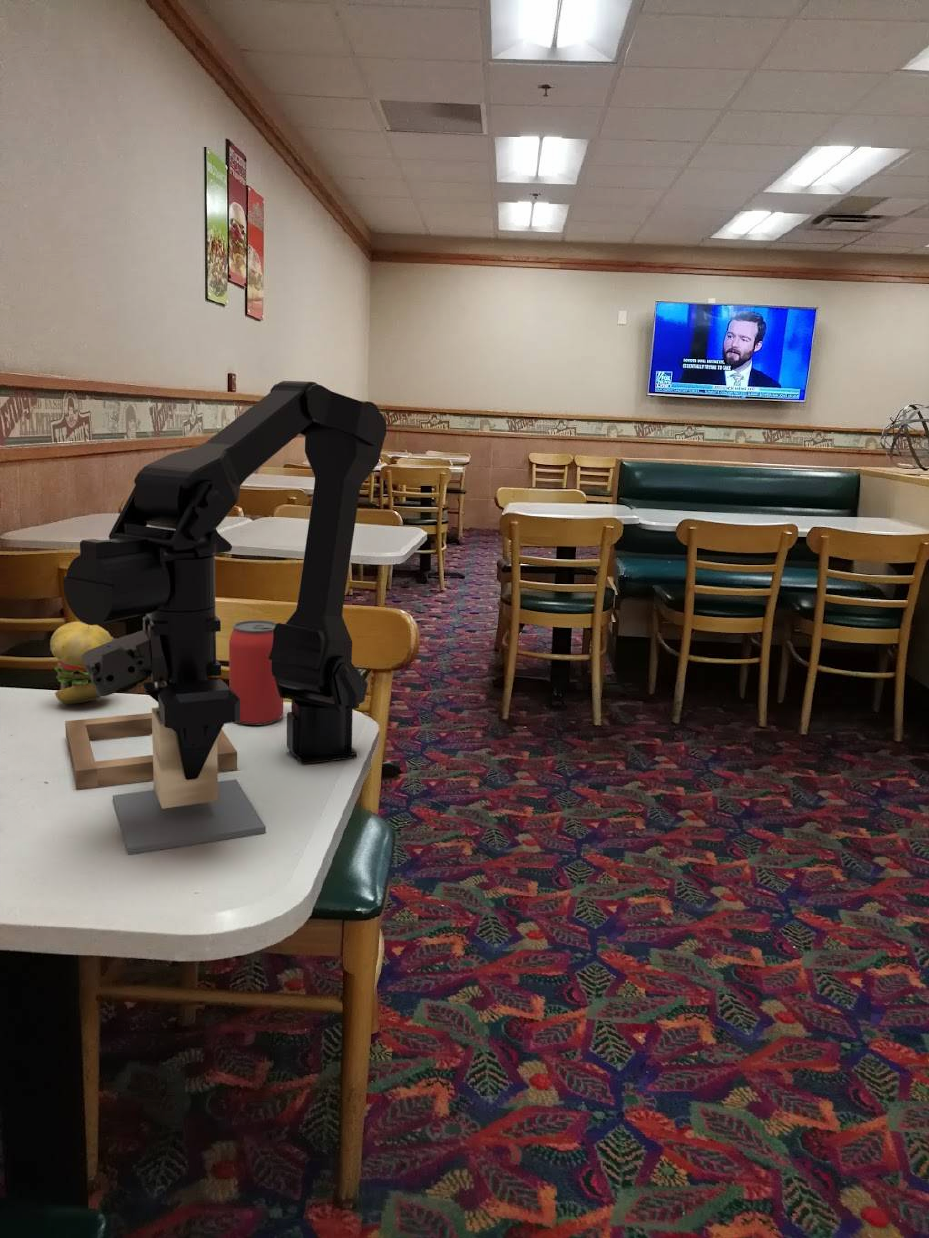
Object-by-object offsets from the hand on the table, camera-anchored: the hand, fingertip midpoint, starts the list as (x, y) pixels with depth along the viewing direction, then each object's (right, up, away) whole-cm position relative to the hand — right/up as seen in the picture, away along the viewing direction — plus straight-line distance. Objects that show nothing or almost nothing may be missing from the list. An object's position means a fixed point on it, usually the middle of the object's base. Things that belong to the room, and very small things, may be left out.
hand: (186, 768), depth 87 cm
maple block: (0, -2, 0) cm, 3 cm away
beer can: (0, +1, +29) cm, 30 cm away
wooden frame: (-9, -1, +16) cm, 19 cm away
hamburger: (-22, +3, +32) cm, 39 cm away
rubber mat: (0, -5, +1) cm, 5 cm away
